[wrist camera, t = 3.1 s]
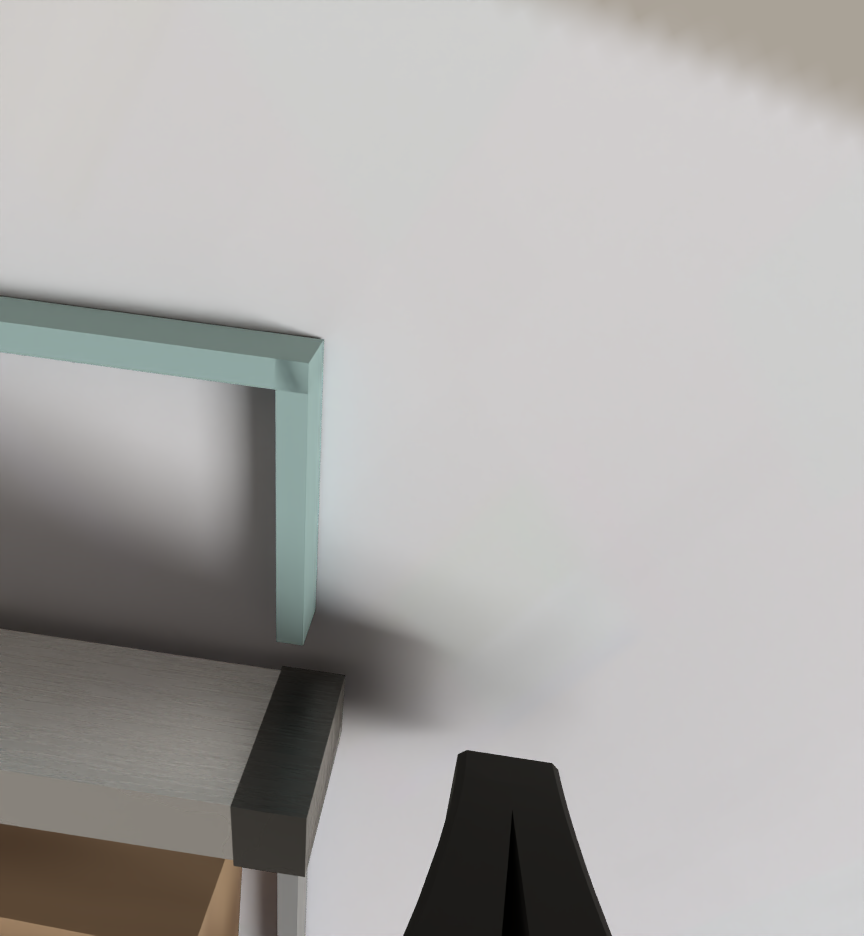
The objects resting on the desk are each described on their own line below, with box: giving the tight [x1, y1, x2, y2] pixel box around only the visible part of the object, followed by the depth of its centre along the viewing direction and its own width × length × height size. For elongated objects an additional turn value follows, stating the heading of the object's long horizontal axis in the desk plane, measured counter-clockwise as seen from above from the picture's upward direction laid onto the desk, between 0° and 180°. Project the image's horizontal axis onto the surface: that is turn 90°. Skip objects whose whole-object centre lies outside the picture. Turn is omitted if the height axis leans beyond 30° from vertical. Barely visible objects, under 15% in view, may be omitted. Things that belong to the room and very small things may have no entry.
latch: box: [0, 629, 345, 877], centre depth 11 cm, size 1×9×2 cm, turn 84°
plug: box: [0, 824, 242, 936], centre depth 15 cm, size 5×5×3 cm
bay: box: [0, 296, 324, 646], centre depth 10 cm, size 4×8×1 cm, turn 84°
